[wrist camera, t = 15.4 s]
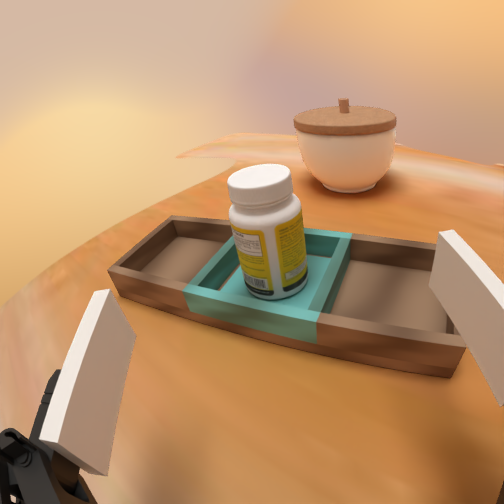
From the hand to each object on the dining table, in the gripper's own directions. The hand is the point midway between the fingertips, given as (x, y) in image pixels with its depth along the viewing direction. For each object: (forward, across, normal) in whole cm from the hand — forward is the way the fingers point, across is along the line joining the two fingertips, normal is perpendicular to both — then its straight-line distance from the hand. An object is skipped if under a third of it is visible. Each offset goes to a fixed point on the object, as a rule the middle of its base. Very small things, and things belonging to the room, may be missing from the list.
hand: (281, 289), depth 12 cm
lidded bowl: (+28, +12, -9) cm, 32 cm away
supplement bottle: (+10, 0, -8) cm, 12 cm away
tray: (+10, 0, -8) cm, 13 cm away
